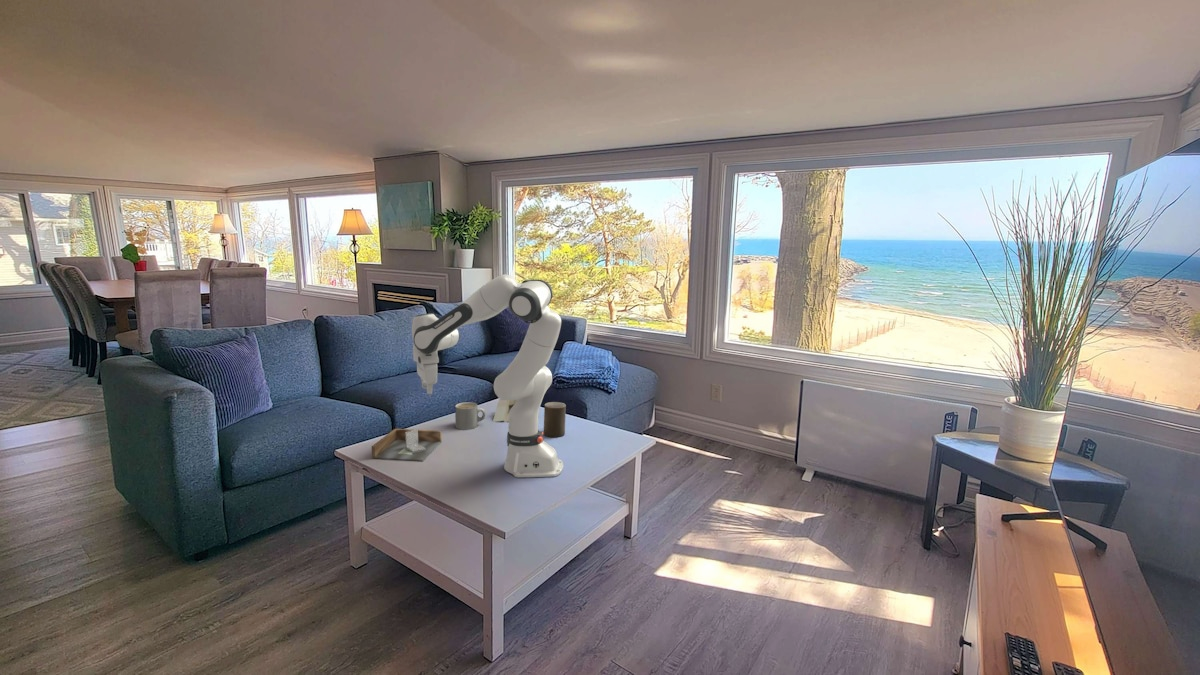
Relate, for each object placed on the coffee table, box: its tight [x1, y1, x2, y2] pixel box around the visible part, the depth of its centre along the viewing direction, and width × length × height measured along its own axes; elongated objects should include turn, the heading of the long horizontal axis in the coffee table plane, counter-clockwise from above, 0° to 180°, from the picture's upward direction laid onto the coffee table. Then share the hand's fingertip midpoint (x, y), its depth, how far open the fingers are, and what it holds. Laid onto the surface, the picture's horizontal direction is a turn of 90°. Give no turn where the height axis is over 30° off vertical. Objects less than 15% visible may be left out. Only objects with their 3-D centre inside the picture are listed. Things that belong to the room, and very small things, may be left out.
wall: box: [492, 398, 516, 423], centre depth 248 cm, size 16×9×15 cm
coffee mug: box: [454, 401, 486, 431], centre depth 232 cm, size 13×10×10 cm
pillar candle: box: [542, 401, 567, 438], centre depth 226 cm, size 10×10×15 cm
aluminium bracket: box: [405, 429, 426, 454], centre depth 202 cm, size 7×5×7 cm
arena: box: [371, 428, 443, 462], centre depth 203 cm, size 20×20×5 cm
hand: (427, 390), depth 193 cm, fingers open, 8 cm apart
